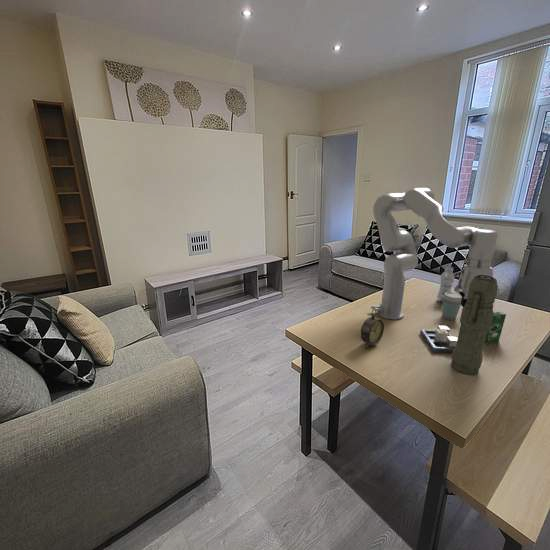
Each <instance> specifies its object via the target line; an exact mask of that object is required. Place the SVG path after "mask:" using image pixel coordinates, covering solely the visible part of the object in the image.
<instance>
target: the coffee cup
mask: <svg viewBox="0 0 550 550" xmlns="http://www.w3.org/2000/svg"><path fill="white" fill-rule="evenodd" d="M461 300H462V296H461V295H460V294H459V293H457V292H453V291H451V292H446V293H445V294H444V295H443V302H442V313H441V314H442V317H443V318H444V319H445V320H448V321H453V320H456V319H457V316H458V314H459V310H460V308H461V307H462V306H461Z"/></svg>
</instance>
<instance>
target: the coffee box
mask: <svg viewBox="0 0 550 550" xmlns="http://www.w3.org/2000/svg"><path fill="white" fill-rule="evenodd" d="M493 313H494V315H493V319H492V323H491V327H490V329H489V330H488V332H487V335H486V339H485V343H484V345H488V344H493V343H498V342H499V341H500V340H501V339H500V338H501V335H502V331H503V327H504V324H505V320H506V317H507V314H506V313H505V312H502V311H495V312H493Z"/></svg>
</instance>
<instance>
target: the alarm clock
mask: <svg viewBox="0 0 550 550" xmlns="http://www.w3.org/2000/svg"><path fill="white" fill-rule="evenodd" d="M371 310H372V311H371V313H370V317H367V319H365V320H364V322H363V323H362V325H361V329H360V338H361V340H362V341H363V343H366V347H365V349H366V350H367V349H368V347H369V346H375V345H377V344H379V342H380V341H381V339H382V337H383V334H384V329H385V324H384V321H383V319H380V318H378V317H377V318H376V317H375V315H376V313H377V311H376V309H371ZM373 312H374V314H373Z"/></svg>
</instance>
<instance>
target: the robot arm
mask: <svg viewBox="0 0 550 550" xmlns="http://www.w3.org/2000/svg"><path fill="white" fill-rule="evenodd" d="M372 211H373V212H372V213H373V218H374V220H375V223H376V225H377V226H376V227H377V229H378V234H379V237H380V242H381V244H382V248H383V250H385V252H389V253H391V252H397V253H391V254H390V255H388V256H387V257H386V258H385V260H384V262H383V269H384V270H383V271H384V272H383V273H384V276H383V288H382V294H381V295H382V296H381V303H379V304H378V305H376V304H375V305H374V304H373V305H372V304H371V306H370V309H371V310H373V309H376V313H377V315H378V316H380V317H382V318H384V319H387V320H392V321H393V320H401V319H403V318H404V316H405V313H404V312H403V311H402V306H403V299H404V293H405V292H404V291H405V284H406V280H405V279H406V278H405V275H404V273H405V272H409V271H411V270H415V268H416V267H418V262H419V257H418V253H417V250H416V246H415V241H414V238H413V236H412V235H411V233H410V232H408V231H407V230H405V229H399V228H398V225H397V222H396V219H395V217H394V215H392V213H394V212H401V211H412V212H413V213H414V214H415V215H416V216H418V217H419V219H421V220H423V222H425V223H426V226H427V229H428V230H429V232H430V234H431V235H432V236H433V237H434V238H435V239H437V240H438V241H439V242H440V243H441V244H442V245H444V246H446V247H448V248H451V249H455V248H456V249H458V248H461V247H467V246H468V247H469V250H468V255H467V257H466V258H465V259H463V263H464V265H463V267H462V269H461V271H460V274H459V278H458V282H457V284H456V286H455V287H454V288H453V291H454V293H458V294H460V295H461V296H462V300H461V306H460V307H462V308H463V307H464V305H465V304H466V300H467V298H468V297H467V295H468V291H469V286H470V283H471V281H472V280H473V278H474V277H475V276H478V275H486V276H491V277H493V278H494V274H493V273H494V272H493V271H494V270H493V269H494V267H492V266H491V265H492V261H493V256H494V253H495V249H496V245H497V240H498V235H499V234H498V232H497V231H495V230H493V229H483V228H482V229H480V228H476V227H473V226H469V225H468V226H467V225H466V226H465V225H464V226H459V227H455V226H454V225H453V224H451V223H450V222H448V220H446V219H445V218H444V216H443V212H444V206H443V205H442V204H440V203H439V202H438V201H436V200H435V193H434V192H433V190H431V189H430V188H428V187H415V188H410V189H409V190H407V191H405V192H391V193H384V194H382V195H380V196H378V198H376V200H375V202H374V204H373V209H372Z"/></svg>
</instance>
